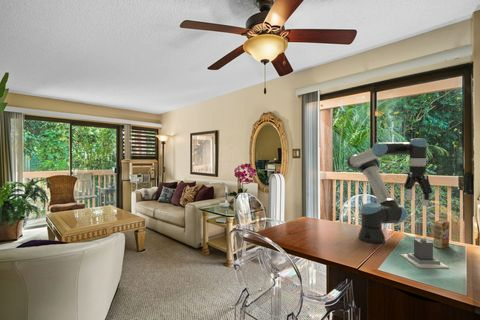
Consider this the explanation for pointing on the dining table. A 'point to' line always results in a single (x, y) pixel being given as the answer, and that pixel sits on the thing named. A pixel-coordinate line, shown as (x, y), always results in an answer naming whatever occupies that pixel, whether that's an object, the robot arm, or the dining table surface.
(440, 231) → the candy box
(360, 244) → the dining table surface
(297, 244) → the dining table surface
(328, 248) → the dining table surface
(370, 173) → the robot arm
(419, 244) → the block
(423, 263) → the end holder
